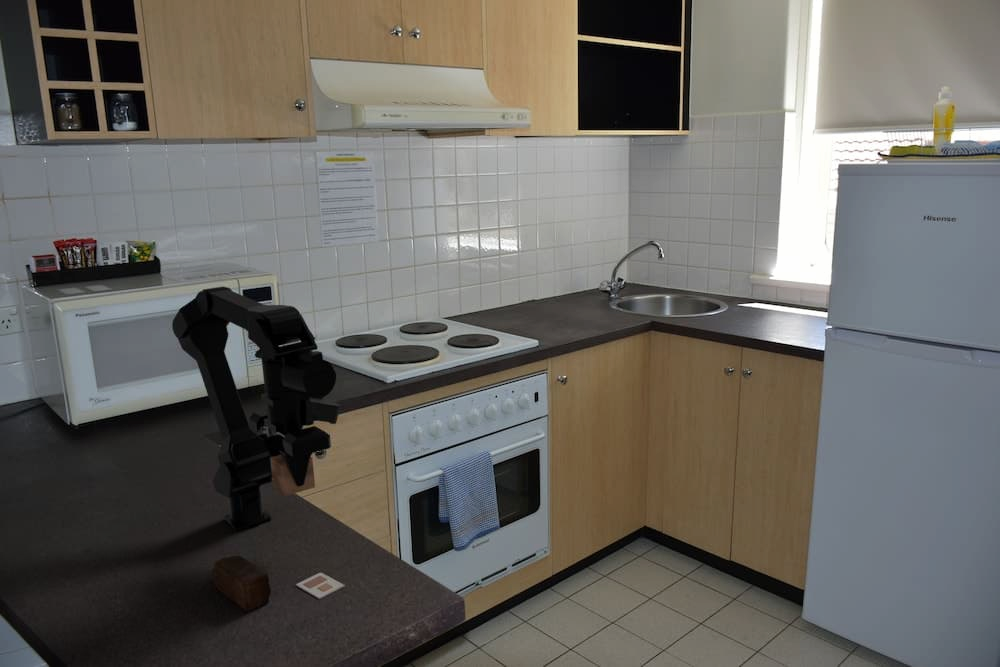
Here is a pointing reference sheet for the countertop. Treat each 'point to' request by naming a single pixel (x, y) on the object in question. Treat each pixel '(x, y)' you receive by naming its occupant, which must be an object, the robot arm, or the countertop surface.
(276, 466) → the top block
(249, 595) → the brick
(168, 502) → the countertop surface
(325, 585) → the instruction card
